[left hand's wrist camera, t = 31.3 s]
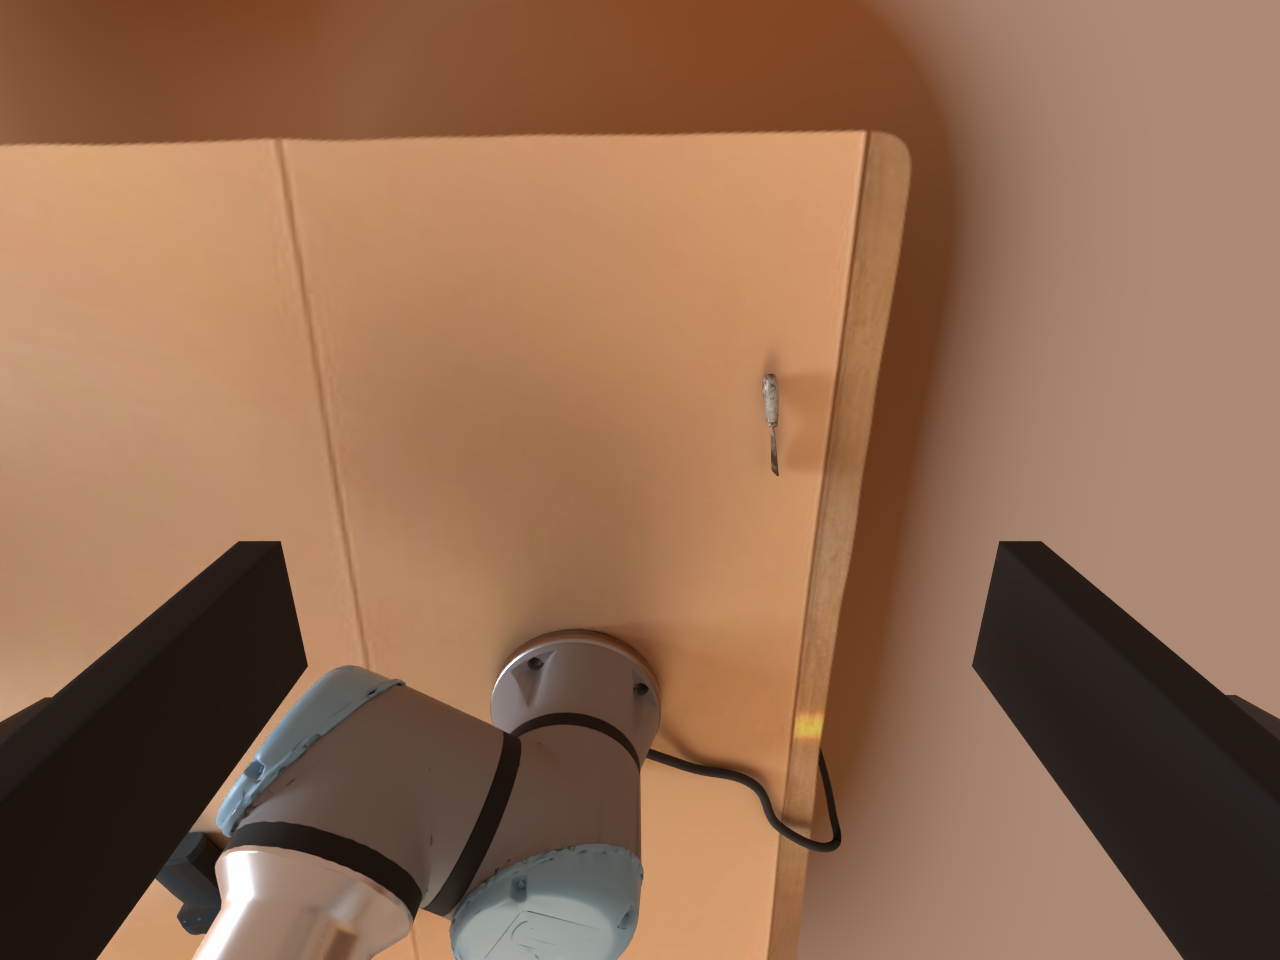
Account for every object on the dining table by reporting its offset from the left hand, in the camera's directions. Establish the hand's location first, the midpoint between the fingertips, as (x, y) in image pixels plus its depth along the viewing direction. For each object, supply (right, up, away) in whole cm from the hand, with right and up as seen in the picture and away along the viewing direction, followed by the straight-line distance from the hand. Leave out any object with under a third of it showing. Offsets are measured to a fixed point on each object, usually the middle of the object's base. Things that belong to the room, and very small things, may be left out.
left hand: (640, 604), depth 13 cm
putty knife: (+10, +7, +41) cm, 42 cm away
